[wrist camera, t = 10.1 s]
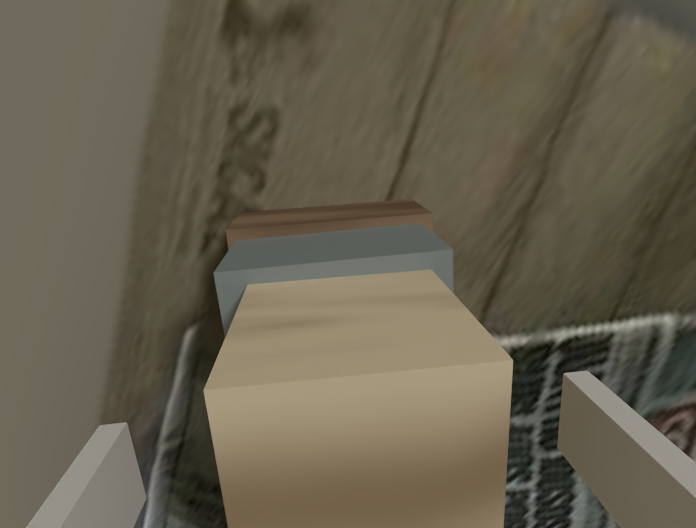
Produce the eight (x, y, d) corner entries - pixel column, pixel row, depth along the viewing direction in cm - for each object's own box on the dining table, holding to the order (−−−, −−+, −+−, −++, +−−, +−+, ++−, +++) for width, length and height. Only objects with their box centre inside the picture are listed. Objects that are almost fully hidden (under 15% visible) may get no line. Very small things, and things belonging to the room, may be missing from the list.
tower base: (413, 348, 29) (433, 391, 24) (262, 363, 28) (252, 410, 23) (410, 198, 26) (432, 213, 21) (241, 211, 25) (225, 229, 21)
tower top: (425, 383, 24) (453, 445, 19) (261, 402, 23) (248, 471, 19) (420, 223, 21) (453, 249, 16) (235, 240, 21) (213, 272, 16)
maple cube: (431, 423, 19) (499, 585, 12) (268, 441, 18) (244, 618, 12) (431, 269, 17) (513, 360, 10) (247, 284, 16) (203, 390, 10)
